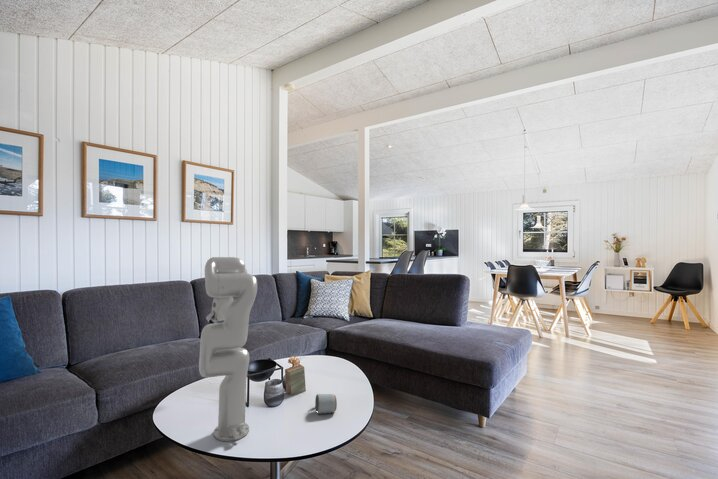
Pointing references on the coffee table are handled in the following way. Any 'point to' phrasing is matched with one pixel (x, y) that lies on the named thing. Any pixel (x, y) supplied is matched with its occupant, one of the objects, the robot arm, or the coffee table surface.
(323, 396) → the ceramic mug
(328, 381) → the coffee table surface
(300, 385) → the slab
